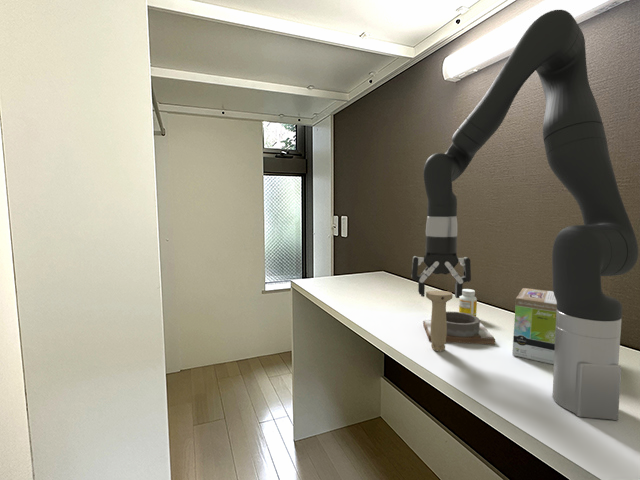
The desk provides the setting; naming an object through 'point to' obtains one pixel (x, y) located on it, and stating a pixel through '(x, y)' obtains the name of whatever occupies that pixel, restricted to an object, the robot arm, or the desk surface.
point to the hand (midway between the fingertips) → (439, 296)
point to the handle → (438, 318)
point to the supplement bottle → (468, 302)
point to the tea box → (535, 325)
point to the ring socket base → (463, 329)
